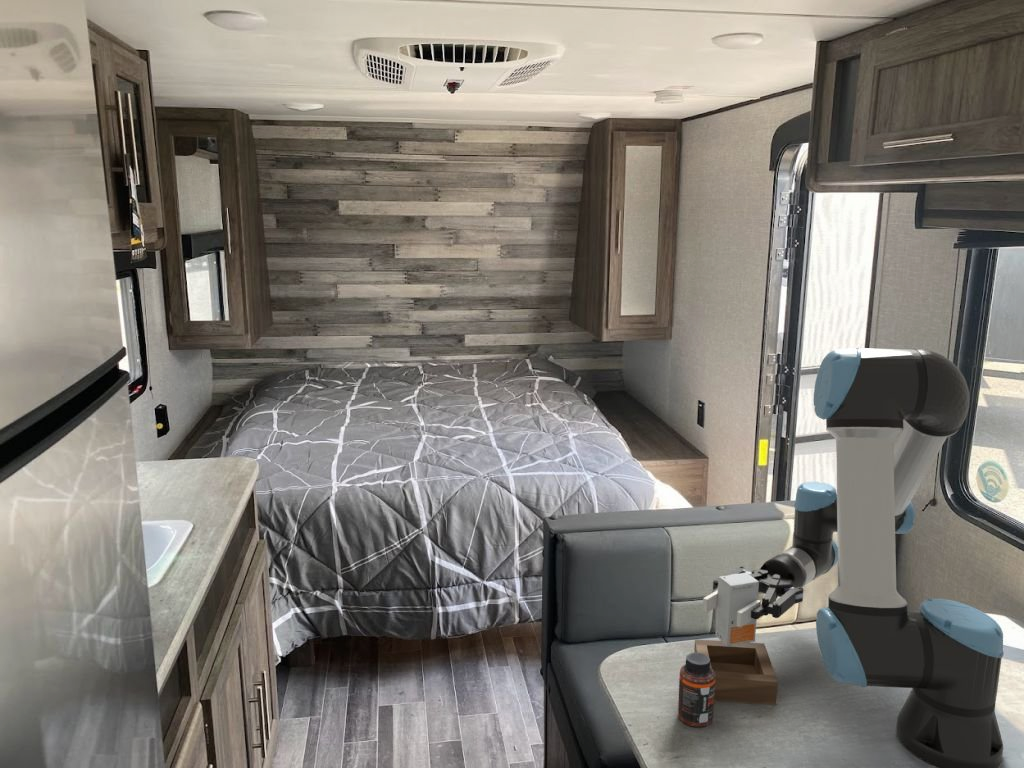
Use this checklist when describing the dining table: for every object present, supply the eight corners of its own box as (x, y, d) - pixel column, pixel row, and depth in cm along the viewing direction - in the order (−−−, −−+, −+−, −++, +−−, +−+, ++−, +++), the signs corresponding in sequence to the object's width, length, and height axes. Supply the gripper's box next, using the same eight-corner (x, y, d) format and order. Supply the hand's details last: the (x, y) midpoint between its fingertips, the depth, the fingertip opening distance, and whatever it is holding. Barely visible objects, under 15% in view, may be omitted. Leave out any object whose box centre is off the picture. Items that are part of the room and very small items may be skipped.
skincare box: (727, 647, 141) (729, 586, 139) (714, 636, 145) (717, 575, 143) (756, 642, 143) (759, 581, 141) (743, 630, 147) (746, 571, 145)
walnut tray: (776, 704, 138) (777, 681, 138) (701, 699, 140) (702, 676, 139) (762, 664, 151) (764, 643, 150) (694, 660, 153) (694, 639, 152)
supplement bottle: (714, 730, 131) (717, 669, 129) (677, 726, 133) (680, 665, 130) (712, 709, 137) (715, 650, 135) (677, 705, 138) (680, 647, 136)
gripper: (832, 607, 148) (769, 653, 133) (742, 574, 162) (675, 612, 147) (835, 570, 147) (772, 612, 132) (744, 540, 161) (677, 575, 145)
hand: (721, 612), depth 139 cm, fingers closed on skincare box, 6 cm apart
